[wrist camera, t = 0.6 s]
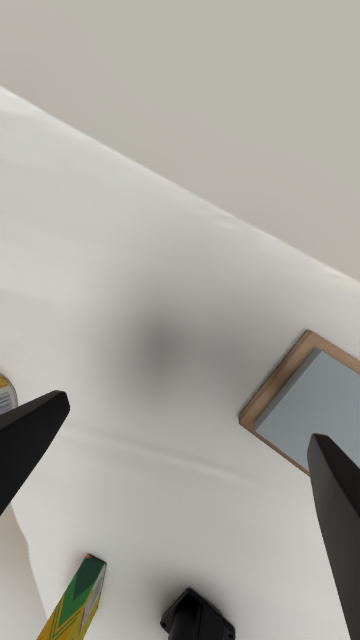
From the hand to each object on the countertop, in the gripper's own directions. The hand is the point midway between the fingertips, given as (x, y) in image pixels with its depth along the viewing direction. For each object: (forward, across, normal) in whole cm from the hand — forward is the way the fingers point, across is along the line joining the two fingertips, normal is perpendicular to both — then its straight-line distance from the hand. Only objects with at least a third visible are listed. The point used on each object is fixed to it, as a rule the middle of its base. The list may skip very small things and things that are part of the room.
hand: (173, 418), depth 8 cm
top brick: (+12, -11, +10) cm, 19 cm away
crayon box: (+5, +14, +36) cm, 39 cm away
